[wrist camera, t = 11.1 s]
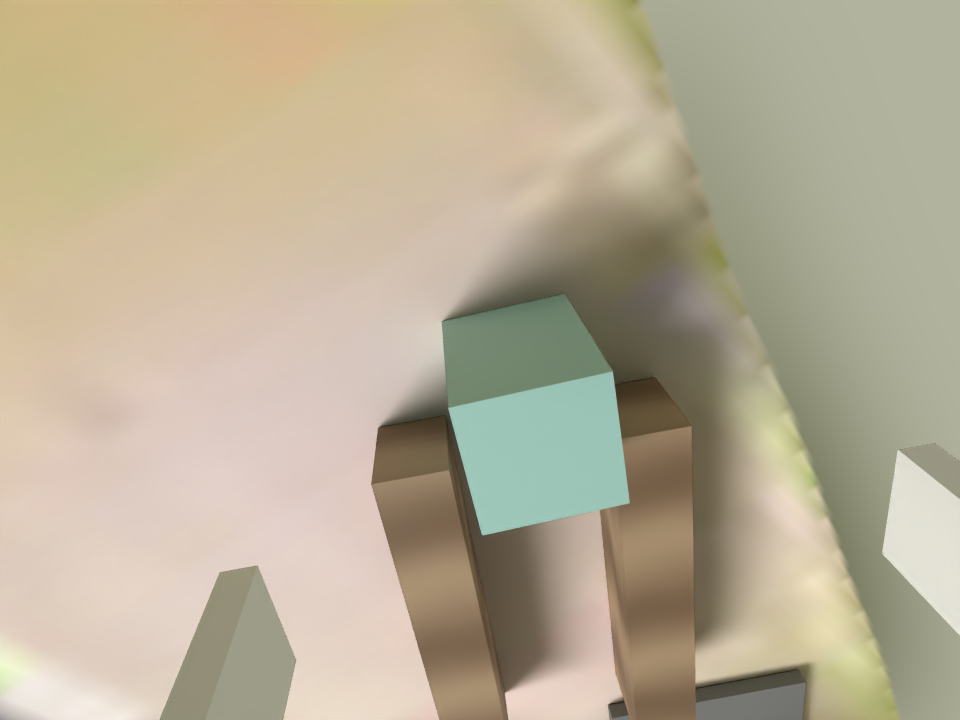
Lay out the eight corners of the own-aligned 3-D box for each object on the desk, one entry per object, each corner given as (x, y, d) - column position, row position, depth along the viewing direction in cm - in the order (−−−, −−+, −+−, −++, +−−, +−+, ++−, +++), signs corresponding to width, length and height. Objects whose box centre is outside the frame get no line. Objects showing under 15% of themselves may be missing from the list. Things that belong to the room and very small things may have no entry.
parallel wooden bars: (378, 427, 27) (371, 484, 23) (655, 377, 27) (691, 426, 23) (452, 703, 34) (456, 778, 31) (667, 664, 35) (696, 733, 31)
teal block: (441, 321, 25) (448, 407, 19) (564, 293, 25) (612, 371, 19) (468, 426, 27) (481, 535, 21) (581, 400, 27) (629, 503, 21)
